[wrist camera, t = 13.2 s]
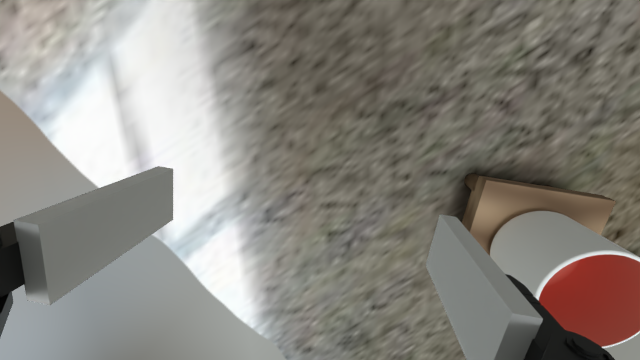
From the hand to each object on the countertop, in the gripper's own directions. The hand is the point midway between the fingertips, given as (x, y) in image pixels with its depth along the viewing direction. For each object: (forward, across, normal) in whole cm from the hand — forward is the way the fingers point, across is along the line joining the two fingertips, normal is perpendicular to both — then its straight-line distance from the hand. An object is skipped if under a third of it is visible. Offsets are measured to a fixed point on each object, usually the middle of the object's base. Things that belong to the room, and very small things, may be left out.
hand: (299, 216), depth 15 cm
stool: (+29, +25, -8) cm, 39 cm away
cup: (+21, +25, -8) cm, 34 cm away
